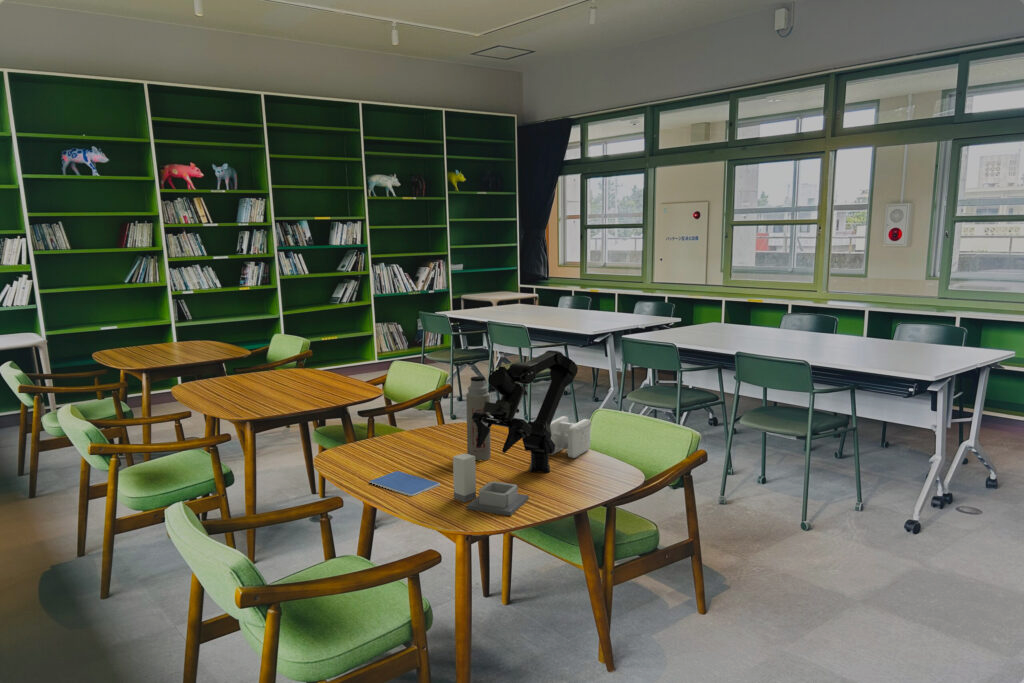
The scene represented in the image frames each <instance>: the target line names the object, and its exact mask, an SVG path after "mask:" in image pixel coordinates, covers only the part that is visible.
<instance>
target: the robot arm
mask: <svg viewBox="0 0 1024 683" xmlns="http://www.w3.org/2000/svg"><path fill="white" fill-rule="evenodd" d="M547 369H548V370H550V371H549V376H550V381H551V382H550V384H549V386H548V389H547V392H546V394H545V396H544V399H543V401H542V403H541V406H540V409H539V411H538V413H537V416H536V419H535V420H533V421H531V420H530V421H528V422H527V421H526V420H525V419H522V418H516V417H515V416H516V413H517V414H519V413H520V409H519V406H520V402H521V400H522V398H523V396H528V391H527V389H526V386H523V385H521V384H527V385H529V384H532V382H533V381H534V380H536V378H537V375H538V374H539V373H541V372H543V371H545V370H547ZM578 370H579V368H578V366H577V364H576V362H575V361H573V360H572V359H570V357H568V356H566V355H564V353H562V352H561V351H559V350H550V349H549V350H546V351H545V352H544V353H543V354H539V355H538V356H536V357H534V358H532V359H531V360H528V361H520V362H515V363H511V364H510V366H509V367H508V368H507V367H506V366H502V365H499V366H498V368H497V369H495V370H493V371H492V372H491V373H490V374H489V376H488V379H487V382H488V384H489V385H490V387H492V388H493V389H494V390H495V391H496V392H497V393H499V395H501V398H500V399H497V400H496V401H495V402H491V401H490V402H485V405H484V410H483V412H485V413H483V412H478V411H476V412H474V413H473V415H472V417H471V419H472V420H473V421H474V423H475V424H476V425H477V429H478V438H477V447H479V448H480V447H481V445H482V444H483V442H484V440H485V439H486V437H487V435H488V433H489V432H490V433H491V427H492V426H493V425H494V426H499V427H502V428H503V427H504V428H508V430H507V431H508V433H507V437H506V439H505V442H504V444H503V446H502V447H503V448H502V450H501V451H502V453H503V454H506V453H507V452H508V451H509V450H510V449H511V448H512V447H514V445H515V444H516V443H518V442H519V441H520V440H522V443H523V448H524V451H525V452H527V451H528V452H530V464H529V473H551V466H550V464H549V461H550V458H549V456H550V454H553V452H554V451H555V444H554V442H553V441H552V440H551V435H552V434H551V429H550V424H551V422H552V421H553V419H554V416H555V414H556V412H557V410H558V407H559V404H560V401H561V399H562V396H563V393H564V392H565V390H566V388H567V387H568V386H569V385H570V384H572V383H573V381H574V379H575V378H576V376H577V374H578ZM486 412H489V413H490V417H489V416H488V415H487V414H486ZM489 427H490V429H489Z"/></svg>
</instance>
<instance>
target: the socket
mask: <svg viewBox="0 0 1024 683" xmlns="http://www.w3.org/2000/svg"><path fill="white" fill-rule="evenodd" d="M518 491H519V488H518V484H515V483H514V484H513V483H508V482H500V481H491V482H490V481H489V482H487V483H486V484H485V485H483V486H482V487H480V488H479V490H478V496H476V499H473V500H471V502H469V503H467V505H466V506H467V507H466V509H467V510H469V511H470V510H471V511H476V510H477V512H482V511H483V513H488V512H489V513H488V514H494V513H496V514H495V515H500V514H503V515H502V516H506V515H511V516H513V515H514V514H515V513H516V512H517V511H518V510H519V509H520V508H521V507H523V506H524V504H525V502H526V501H527V500H528V499H529V500H530V495H527V494H521V493H518ZM529 500H528V501H529ZM528 501H527V502H528ZM527 502H526V503H527ZM520 506H521V507H520ZM519 507H520V508H519ZM518 508H519V509H518ZM517 509H518V510H517ZM516 510H517V511H516ZM515 511H516V512H515ZM514 512H515V513H514ZM513 513H514V514H513ZM512 514H513V515H512Z"/></svg>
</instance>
